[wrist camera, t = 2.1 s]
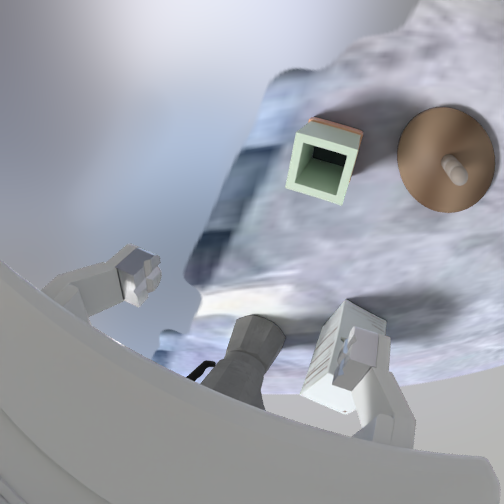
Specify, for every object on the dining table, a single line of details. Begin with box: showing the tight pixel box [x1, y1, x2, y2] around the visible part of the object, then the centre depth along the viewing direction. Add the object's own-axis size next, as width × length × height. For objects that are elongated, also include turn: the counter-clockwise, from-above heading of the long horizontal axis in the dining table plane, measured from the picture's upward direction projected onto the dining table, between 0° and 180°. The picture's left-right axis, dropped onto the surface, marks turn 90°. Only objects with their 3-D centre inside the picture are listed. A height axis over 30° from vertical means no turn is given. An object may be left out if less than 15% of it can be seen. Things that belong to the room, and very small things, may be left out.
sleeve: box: [285, 117, 363, 206], centre depth 26 cm, size 5×5×8 cm
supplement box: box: [300, 299, 387, 415], centre depth 36 cm, size 7×7×13 cm
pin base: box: [397, 107, 495, 213], centre depth 23 cm, size 11×11×6 cm
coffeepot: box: [186, 315, 285, 411], centre depth 43 cm, size 15×9×18 cm, turn 104°
